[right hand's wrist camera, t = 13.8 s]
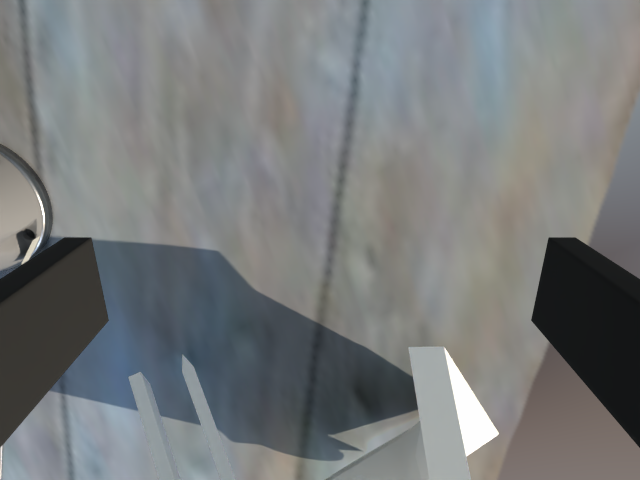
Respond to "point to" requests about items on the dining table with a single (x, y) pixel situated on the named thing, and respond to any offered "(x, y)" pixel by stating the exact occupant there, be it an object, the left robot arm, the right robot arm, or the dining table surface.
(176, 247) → the dining table surface
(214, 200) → the dining table surface
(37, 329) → the right robot arm
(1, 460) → the invitation card
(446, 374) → the white plastic object
